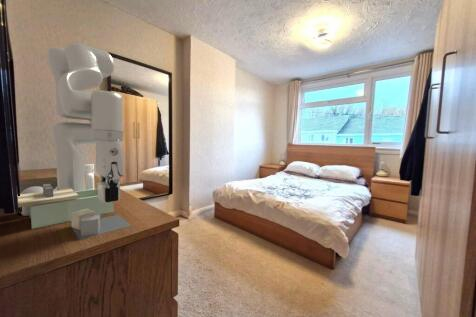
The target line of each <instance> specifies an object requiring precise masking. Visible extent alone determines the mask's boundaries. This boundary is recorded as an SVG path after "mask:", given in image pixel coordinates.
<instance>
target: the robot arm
mask: <svg viewBox="0 0 476 317" xmlns="http://www.w3.org/2000/svg"><path fill="white" fill-rule="evenodd" d="M46 57H47V63H48V67H49V70H50V72H51V74H52V76H53V79H54V83H55V108H56V110H55V111H56V114H57V116H59V117H60V118H63V119H70V120H80V121H82V120H84V121H89V122H77V121H58V122H56V123H54V124H52V126H51V135H52V139H53V142H54V149H55V159H56V160H55V161H56V162H55V163H56V164H55V165H56V182H57V187H58V188H59V189H68V188H71V189H72V190H73V191H83V190H86V170H85V166H84V165H86V163H85V162H86V161H85V153H84V152H83V151H82V149H81V148H80V147H78V145H95V169H96V171H95V172H96V173H97V175H98V174H99V182H103V181H106V188H105V202H113V201H114V202H117V201H119V200H118V186H119V185H118V182H119V181H120V178H121V177H123V176H124V175H125V165H124V164H125V163H124V162H125V161H124V152H123V151H124V150H123V144H122V143H124V116H123V115H124V100H123V96H122V95H121V94H120V93H117V92H115V91H114V92H113V91H109V90H94V91H93V92H92V91H91V92H90V91H86V90H91V89H95V88H98V87H99V86H100V85H101V84H102V83H103V80H104V78H108V77H110V76H111V75H113V73H114V71H115V61H114V58H113V57H112V55H111V54H110V53H109V52H107V51H106V50H103V49H100V48H96V47H94V46H93V47H92V46H89V45H87V44H83V43H79V42H71V43H69V44H66V46H65V47H60V46H51V47H49V48H48V50H47V55H46ZM109 181H110V183H109ZM119 183H120V182H119ZM58 188H57V189H58Z"/></svg>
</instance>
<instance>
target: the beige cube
mask: <svg viewBox="0 0 476 317" xmlns="http://www.w3.org/2000/svg"><path fill="white" fill-rule="evenodd" d="M92 214H95V211H93V210H90V209H84V210H80V211H76V212H72V213H71V220H72V221H71V225H72V227H73V228H76V229H78V230H81V224H80V221H81V220H82V218H83V216H84V215H92ZM72 227H71V228H72Z"/></svg>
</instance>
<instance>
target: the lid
mask: <svg viewBox="0 0 476 317" xmlns="http://www.w3.org/2000/svg"><path fill="white" fill-rule="evenodd" d="M42 187H43V192H34V193H26V194H20V193H19V194H20V196H18V195H17V208H18V209H19V208H21V207H25V206H32V205H38V204H45V203H52V202H58V201H65V200H72V199H78V198H79V196H78V194H77V193H76V192H75V191H73V190H72V189H71V188H68V189H60V190H53V189H54V188H53V186H52V185H51V183H46V184H45V183H43V184H42Z"/></svg>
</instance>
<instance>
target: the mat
mask: <svg viewBox="0 0 476 317" xmlns="http://www.w3.org/2000/svg"><path fill="white" fill-rule="evenodd" d="M100 221H101V228H100V231H99V234H96V235H90V236H84V237H81V230H78V229H76V228H73V227H72V224H70V227H71V229H72V230H73V232H74V233H75V235H76V237H77V239H78V240H80V241H81V240H85V239H88V238H91V237H95V236H99V235H103V234H107V233H111V232H114V231H118V230H121V229H125V228H128V227H132V226H133V225H132V224H131V223H130V222H128V221H127V220H125V219H124V218H123V217H122V216H120V215H119V214H115V215H110V216H106V217H102V218H101V217H100Z"/></svg>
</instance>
